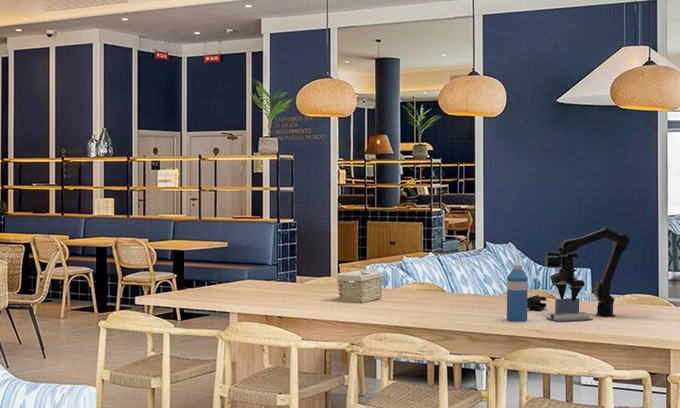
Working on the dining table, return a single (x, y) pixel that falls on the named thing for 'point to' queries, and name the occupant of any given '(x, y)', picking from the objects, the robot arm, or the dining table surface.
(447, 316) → the dining table surface
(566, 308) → the door panel
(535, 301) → the end cap
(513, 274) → the water bottle
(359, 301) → the storage basket
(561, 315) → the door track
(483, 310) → the dining table surface
